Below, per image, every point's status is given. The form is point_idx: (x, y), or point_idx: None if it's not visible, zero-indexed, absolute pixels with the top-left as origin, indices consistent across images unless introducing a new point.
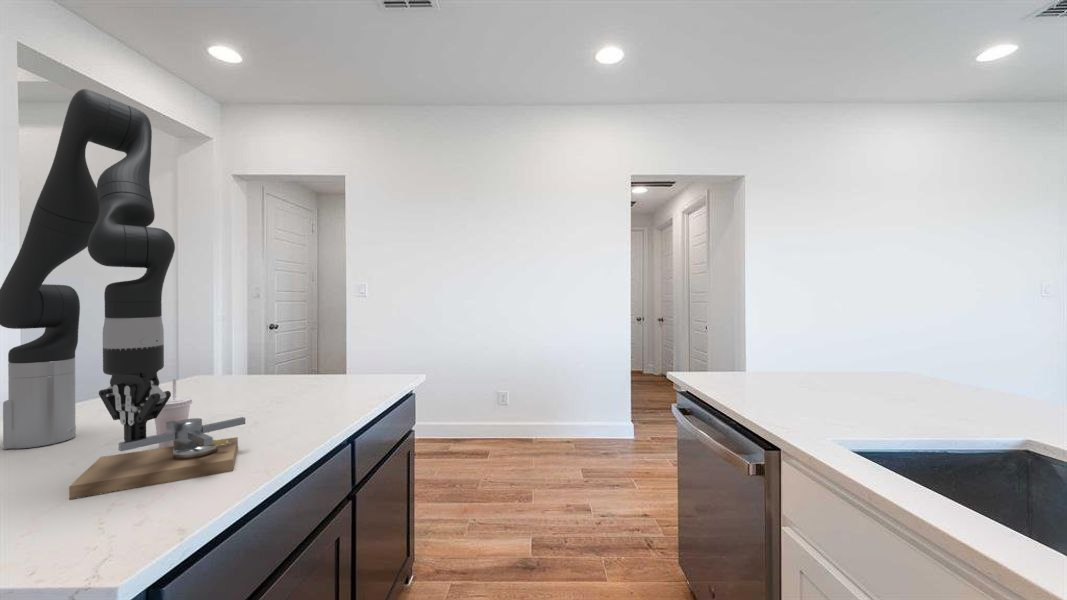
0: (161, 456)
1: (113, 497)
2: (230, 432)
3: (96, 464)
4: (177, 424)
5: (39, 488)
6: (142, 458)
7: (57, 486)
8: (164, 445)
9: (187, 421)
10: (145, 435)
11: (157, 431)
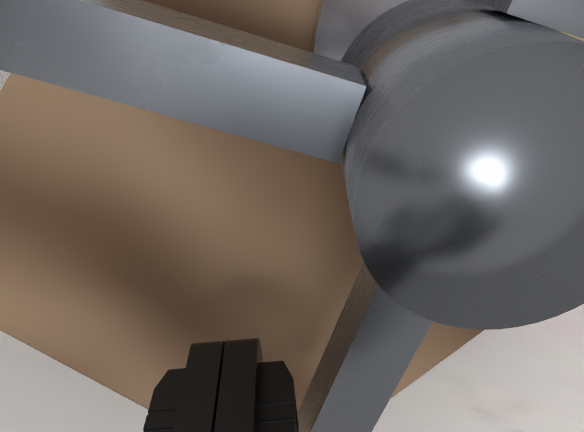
0: (259, 164)
1: (423, 387)
2: None
3: (49, 341)
4: (505, 323)
5: (28, 412)
6: (177, 221)
7: (66, 389)
8: None
9: (513, 212)
10: (291, 400)
11: None
